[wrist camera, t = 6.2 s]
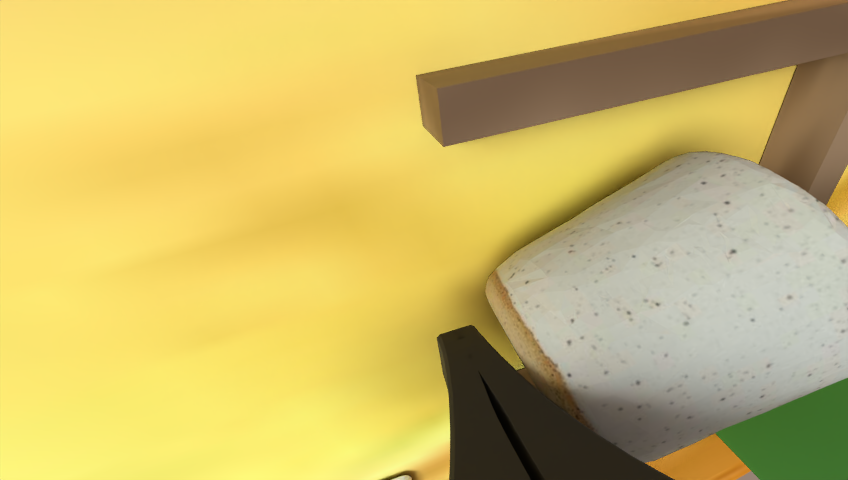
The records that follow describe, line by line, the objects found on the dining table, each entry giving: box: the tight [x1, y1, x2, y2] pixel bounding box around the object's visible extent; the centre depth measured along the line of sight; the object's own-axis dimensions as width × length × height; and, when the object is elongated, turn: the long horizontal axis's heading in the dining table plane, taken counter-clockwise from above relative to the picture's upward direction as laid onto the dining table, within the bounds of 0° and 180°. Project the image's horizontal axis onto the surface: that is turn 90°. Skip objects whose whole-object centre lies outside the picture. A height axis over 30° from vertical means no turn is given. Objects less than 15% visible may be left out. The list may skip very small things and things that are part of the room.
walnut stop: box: [416, 0, 848, 388], centre depth 15 cm, size 16×15×2 cm
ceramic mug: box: [485, 151, 848, 463], centre depth 13 cm, size 11×8×8 cm
